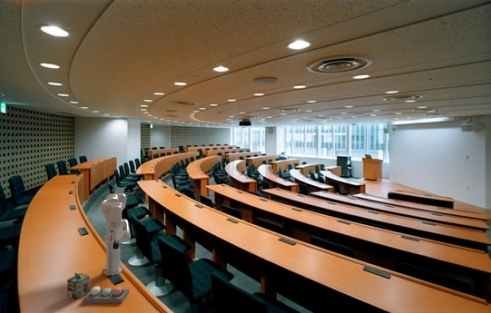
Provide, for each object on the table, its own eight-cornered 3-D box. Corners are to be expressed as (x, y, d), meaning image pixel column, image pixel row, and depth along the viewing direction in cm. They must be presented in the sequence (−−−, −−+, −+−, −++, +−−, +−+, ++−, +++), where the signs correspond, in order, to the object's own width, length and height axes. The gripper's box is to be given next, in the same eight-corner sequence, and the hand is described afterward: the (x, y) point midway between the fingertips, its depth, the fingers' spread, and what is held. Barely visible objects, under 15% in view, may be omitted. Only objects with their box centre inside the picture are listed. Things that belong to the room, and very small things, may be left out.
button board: (83, 302, 150) (83, 298, 150) (92, 292, 160) (92, 288, 160) (121, 303, 151) (121, 298, 151) (128, 293, 161) (128, 288, 161)
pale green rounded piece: (101, 298, 153) (100, 292, 153) (105, 293, 158) (105, 288, 158) (108, 298, 154) (108, 292, 153) (112, 293, 158) (112, 288, 158)
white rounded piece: (89, 296, 153) (89, 290, 153) (94, 291, 158) (94, 286, 157) (97, 296, 153) (97, 290, 153) (101, 291, 158) (101, 286, 158)
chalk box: (90, 292, 161) (90, 271, 160) (76, 300, 152) (75, 278, 151) (81, 288, 164) (81, 267, 163) (67, 296, 156) (66, 274, 155)
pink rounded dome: (112, 296, 154) (112, 291, 153) (115, 292, 158) (115, 286, 158) (119, 297, 154) (119, 291, 153) (123, 292, 158) (123, 286, 158)
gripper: (115, 227, 158) (115, 253, 159) (126, 219, 173) (126, 243, 174) (104, 226, 158) (104, 253, 159) (115, 219, 173) (115, 243, 174)
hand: (115, 248), depth 167 cm, fingers closed
